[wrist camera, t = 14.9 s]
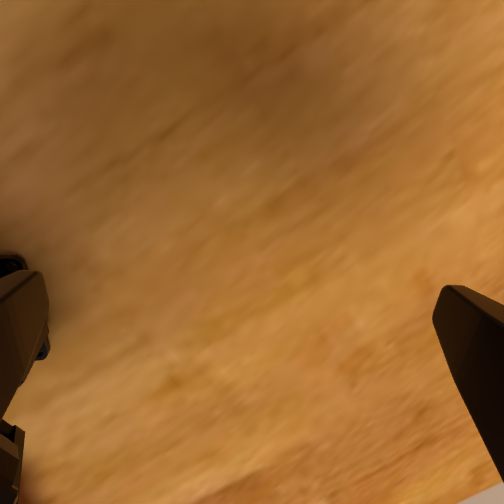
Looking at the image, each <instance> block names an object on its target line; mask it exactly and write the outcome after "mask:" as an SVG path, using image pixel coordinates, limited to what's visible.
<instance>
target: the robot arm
mask: <svg viewBox="0 0 504 504" xmlns="http://www.w3.org/2000/svg"><path fill="white" fill-rule="evenodd" d="M10 263H14V264H16V265H17V268H14V267H12V266H11V265H10ZM48 310H49V301H48V296H47V291H46V287H45V282H44V278H43V275H42V273H41V272H39V271H36V270H27V266H26V263H25V261H24V259H23V258H22V257H20V256H18V255H0V504H18V499H19V489H20V479H21V469H22V459H23V449H24V439H25V431H23V430H22V429H20V428H19V427H18V426H16V425H14V426H11V425H10V424H9V423H7V422H6V421H4V420H3V419H2V418H3V416H4V414H5V412H6V410H7V408H8V406H9V404H10V402H11V400H12V398H13V396H14V394H15V392H16V390H17V389H18V387H20V386H21V385H22V384H23V383H24V381H25V379H26V377H27V375H28V373H29V371H30V369H31V367H32V365H33V363H34V361H37V360H43V359H45V358H46V357H47V355H48V353H49V351H50V347H49V344H48V340H47V335H48V333H49V330H48V326H47V322H46V316H47V314H48ZM432 320H433V325H434V328H435V331H436V333H437V336H438V339H439V342H440V344H441V347H442V350H443V353H444V355H445V358H446V361H447V364H448V366H449V369H450V372H451V374H452V377H453V379H454V382H455V384H456V386H457V388H458V390H459V392H460V394H461V397H462V399H463V401H464V403H465V405H466V407H467V409H468V411H469V413H470V415H471V417H472V419H473V421H474V423H475V425H476V427H477V429H478V431H479V433H480V435H481V437H482V439H483V442H484V444H485V446H486V448H487V450H488V452H489V454H490V456H491V458H492V460H493V462H494V464H495V466H496V468H497V470H498V472H499V474H500V476H501V478H502V480H503V482H504V305H502V304H500V303H498V302H496V301H494V300H492V299H490V298H488V297H486V296H484V295H482V294H480V293H478V292H476V291H474V290H472V289H470V288H467V287H465V286H462V285H446V286H444V287H443V288H442V290H441V292H440V295H439V297H438V300H437V303H436V306H435V309H434V311H433V316H432ZM40 350H41V351H42V352H39V351H40Z"/></svg>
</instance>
